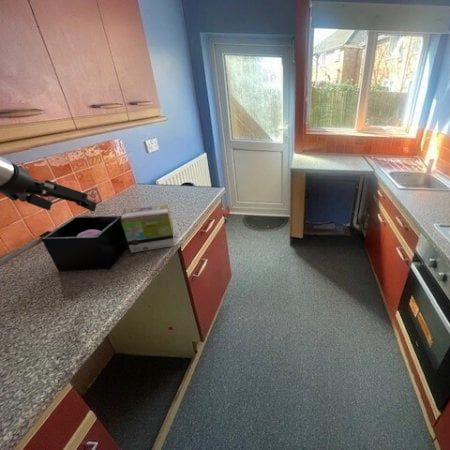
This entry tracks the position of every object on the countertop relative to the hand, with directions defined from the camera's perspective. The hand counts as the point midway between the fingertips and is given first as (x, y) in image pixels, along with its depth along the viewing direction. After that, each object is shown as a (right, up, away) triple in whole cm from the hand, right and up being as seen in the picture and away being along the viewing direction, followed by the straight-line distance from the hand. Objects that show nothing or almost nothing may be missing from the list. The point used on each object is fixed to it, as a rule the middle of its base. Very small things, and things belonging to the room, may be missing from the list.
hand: (72, 206), depth 79 cm
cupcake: (0, -17, +10) cm, 20 cm away
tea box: (+15, -13, +20) cm, 28 cm away
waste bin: (0, -17, +11) cm, 20 cm away
